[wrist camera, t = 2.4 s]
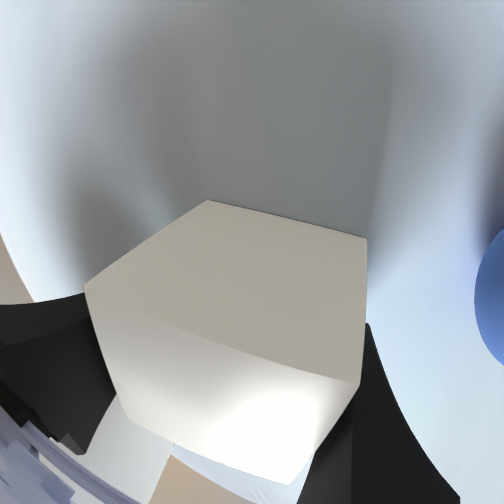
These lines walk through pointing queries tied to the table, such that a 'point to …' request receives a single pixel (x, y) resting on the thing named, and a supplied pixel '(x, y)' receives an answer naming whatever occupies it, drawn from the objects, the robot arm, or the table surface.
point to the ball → (491, 297)
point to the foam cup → (119, 457)
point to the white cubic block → (236, 334)
